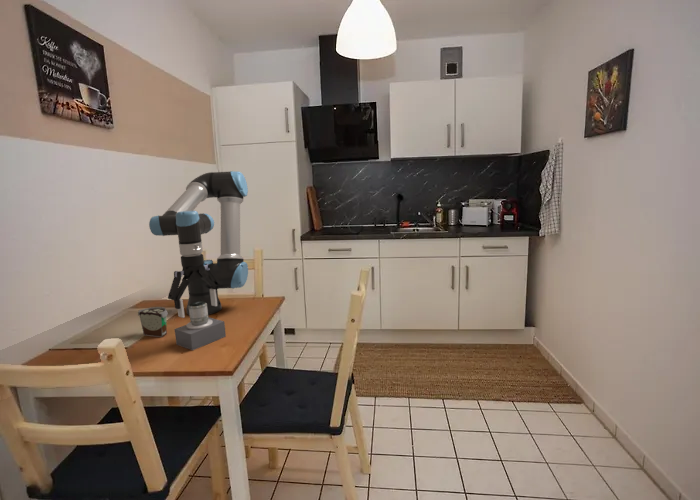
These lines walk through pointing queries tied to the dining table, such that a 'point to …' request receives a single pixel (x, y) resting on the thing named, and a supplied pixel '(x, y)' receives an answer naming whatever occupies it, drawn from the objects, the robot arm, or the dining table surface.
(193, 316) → the camera lens
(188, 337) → the grey block with dome
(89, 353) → the dining table surface
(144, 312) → the food container
